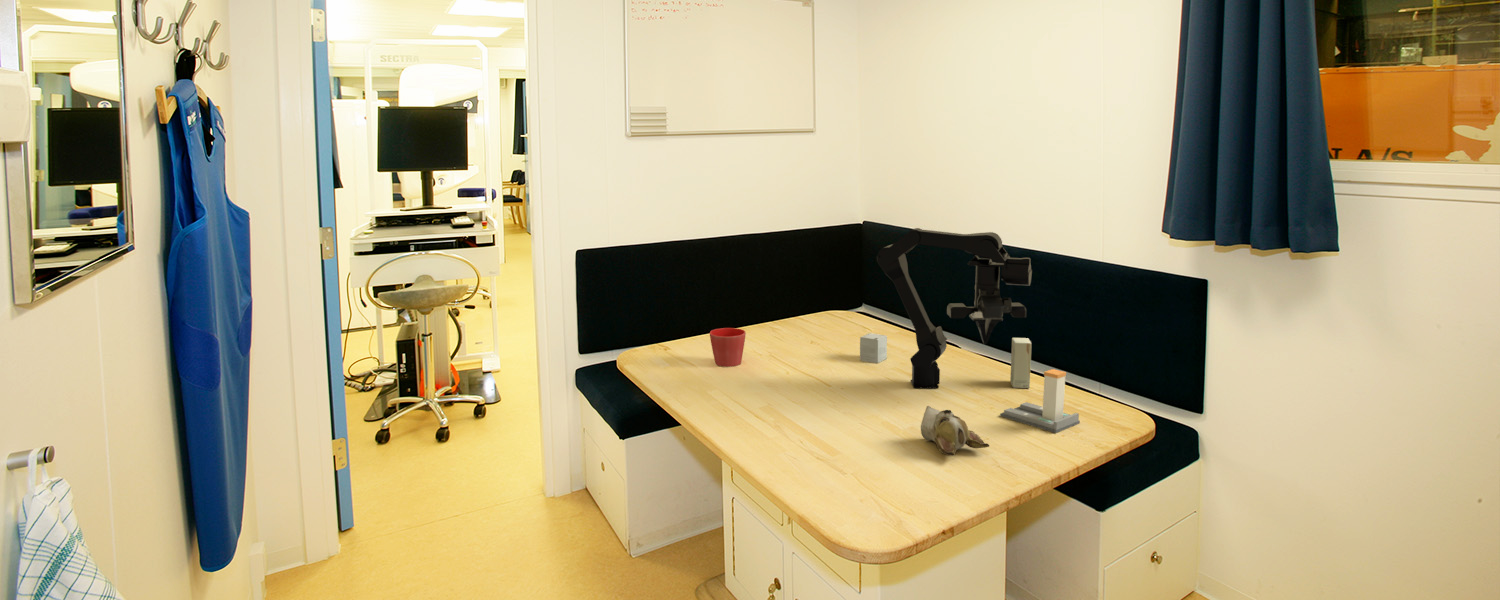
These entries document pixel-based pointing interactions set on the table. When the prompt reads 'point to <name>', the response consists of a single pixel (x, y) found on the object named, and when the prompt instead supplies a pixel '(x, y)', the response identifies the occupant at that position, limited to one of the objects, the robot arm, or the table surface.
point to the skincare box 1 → (873, 348)
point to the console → (1040, 418)
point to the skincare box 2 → (1020, 362)
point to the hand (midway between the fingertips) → (984, 343)
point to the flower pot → (727, 346)
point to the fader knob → (1053, 394)
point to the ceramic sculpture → (948, 431)
